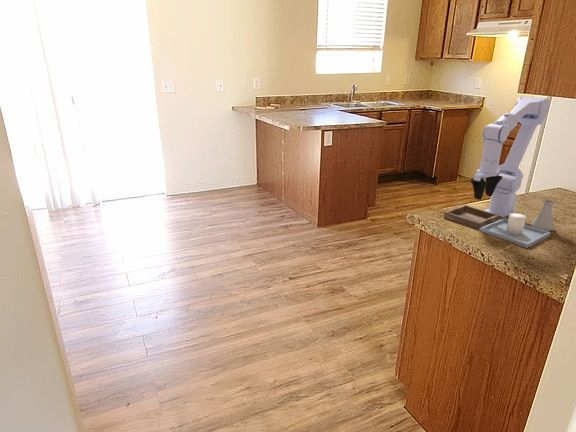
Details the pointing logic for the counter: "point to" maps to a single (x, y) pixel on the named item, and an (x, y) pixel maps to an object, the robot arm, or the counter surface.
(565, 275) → the counter surface
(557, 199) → the counter surface
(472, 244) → the counter surface
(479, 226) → the brown square tray
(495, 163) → the robot arm
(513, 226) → the cream cylinder
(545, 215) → the flask
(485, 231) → the slate tray
